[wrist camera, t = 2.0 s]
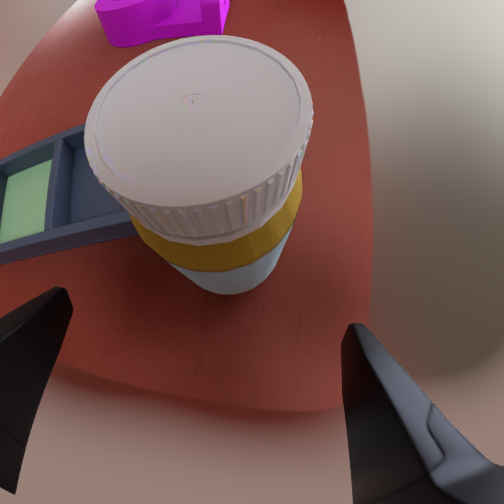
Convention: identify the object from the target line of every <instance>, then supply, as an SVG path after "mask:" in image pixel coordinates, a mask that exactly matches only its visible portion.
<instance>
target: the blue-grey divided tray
mask: <svg viewBox="0 0 504 504" xmlns="http://www.w3.org/2000/svg"><path fill="white" fill-rule="evenodd" d="M85 125H86V123H85V124H82V125H79V126H77V127H74V128H71V129H69V130H66V131H63V132H61V133H58V134H56V135H53V136H51V137H48V138H46V139H43V140H41V141H39V142H36V143H34V144H32V145H30V146H27V147H25V148H23V149H21V150H19V151H17V152H15V153H13V154H11V155H9V156H7V157H5V158H3V159H1V160H0V265H2V264H6V263H10V262H14V261H18V260H22V259H27V258H31V257H35V256H40V255H44V254H48V253H53V252H57V251H62V250H66V249H71V248H76V247H80V246H85V245H90V244H95V243H100V242H105V241H110V240H115V239H120V238H125V237H130V236H135V235H139V233H138V232H137V230H136V228H135V226H134V224H133V223H132V220H131V217H130V214H129V212H128V211H127V210H126V209H125V208H124V207H123V206H122V205H121V204H120V203H119V202H118V201H117V200H116V199H115V198H114V197H113V196H112V195H111V194H110V193H109V192H108V191H107V190H106V189H105V188H104V187H103V186H102V185H101V184H100V183H99V180H98V179H97V178H96V177H95V175H94V174H93V169H92V168H91V167H90V165H89V161H88V158H87V155H86V151H85V144H84V132H85Z"/></svg>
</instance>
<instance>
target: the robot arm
mask: <svg viewBox="0 0 504 504" xmlns="http://www.w3.org/2000/svg"><path fill="white" fill-rule="evenodd" d="M72 314H73V306H72V303H71V300H70V298H69V295H68V292H67V290H66V289H65V288H61V287H54V288H52V289H50V290H48V291H46V292H45V293H43V294H41V295H39V296H37V297H36V298H34V299H32V300H30V301H29V302H27V303H25V304H23V305H22V306H20V307H18V308H16V309H15V310H13V311H11V312H10V313H8V314H6V315H5V316H3V317H1V318H0V487H1V488H3V489H4V490H6V491H8V492H10V493H12V494H14V495H15V493H16V489H17V484H18V479H19V474H20V470H21V465H22V461H23V457H24V453H25V449H26V445H27V442H28V438H29V435H30V431H31V428H32V424H33V422H34V418H35V415H36V412H37V409H38V406H39V404H40V401H41V398H42V395H43V392H44V390H45V387H46V384H47V381H48V379H49V376H50V374H51V371H52V369H53V366H54V364H55V361H56V359H57V357H58V354H59V352H60V349H61V346H62V343H63V340H64V337H65V334H66V331H67V328H68V325H69V322H70V320H71V317H72ZM341 366H342V395H343V404H344V411H345V419H346V428H347V437H348V446H349V457H350V468H351V481H352V495H353V504H504V466H500V465H497V464H495V463H493V462H491V461H490V460H488V459H487V458H486V457H485V456H483V455H482V454H481V453H480V452H479V451H478V450H477V449H476V448H475V447H474V446H473V445H472V444H471V443H470V442H469V441H468V440H467V439H466V438H465V437H464V436H463V435H462V434H461V433H460V432H459V431H458V430H457V429H456V428H455V427H454V426H453V425H452V424H451V423H450V422H449V421H448V419H447V418H446V417H445V416H444V415H443V414H442V413H441V411H440V410H439V409H438V408H437V407H436V406H435V404H434V403H432V401H431V400H430V399H429V398H428V396H427V395H426V394H425V393H424V392H423V391H422V389H421V388H420V387H419V386H418V385H417V384H416V382H415V381H414V380H413V379H412V378H411V377H410V376H409V374H408V373H407V372H406V371H405V370H404V369H403V368H402V366H401V365H400V364H399V363H398V362H397V361H396V360H395V358H394V357H393V356H392V355H391V354H390V353H389V352H388V351H387V350H386V348H385V347H384V346H383V345H382V344H381V343H380V342H379V341H378V339H377V338H376V337H375V336H374V335H373V334H372V333H371V332H370V331H369V330H368V328H367V327H366V326H365V325H364V324H361V323H351V324H349V326H348V328H347V330H346V333H345V335H344V338H343V340H342V343H341Z"/></svg>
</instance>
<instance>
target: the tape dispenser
mask: <svg viewBox="0 0 504 504" xmlns="http://www.w3.org/2000/svg"><path fill="white" fill-rule="evenodd" d="M229 5H230V4H229V0H98V1H97V2H96V4H95V10H96V12H97V14H98V17H99V19H100V22H101V24H102V27H103V29H104V31H105V34H106V36H107V38H108V41H109V43H110V44H111V45H113V46H116V47H131V46H136V45H140V44H143V43H146V42H149V41H152V40H157V39H165V38H174V37H185V36H200V35H222V32H223V28H224V24H225V21H226V17H227V13H228V9H229Z"/></svg>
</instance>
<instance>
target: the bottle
mask: <svg viewBox="0 0 504 504" xmlns="http://www.w3.org/2000/svg"><path fill="white" fill-rule="evenodd" d="M312 106H313V104H312V99H311V94H310V91H309V88H308V85H307V83H306V81H305V79H304V77H303V76H302V74H301V73H300V71H299V70H298V69H297V68H296V67H295V65H294V64H293V63H292V62H290V61H289V60H288V59H287V58H286V57H284V56H283V55H282V54H280V53H279V52H277V51H275V50H274V49H272V48H270V47H268V46H266V45H263V44H261V43H258V42H255V41H252V40H249V39H245V38H240V37H234V36H225V35H204V36H195V37H189V38H184V39H179V40H175V41H172V42H169V43H166V44H163V45H160V46H158V47H156V48H153V49H151V50H149V51H147V52H145V53H143V54H142V55H140V56H138V57H136V58H135V59H133V60H132V61H130V62H129V63H128V64H126V65H125V66H124V67H123V68H121V69H120V70H119V71H118V72H117V73H116V74H115V75H114V76H113V77H112V78H111V79H110V80H109V81H108V82H107V83H106V84H105V86H104V87H103V88H102V90H101V91H100V92H99V94H98V95H97V97H96V99H95V101H94V102H93V104H92V107H91V109H90V111H89V114H88V117H87V120H86V125H85V132H84V144H85V151H86V155H87V158H88V161H89V165H90V167H91V168H92V169H93V174H94V175H95V177H96V178H97V179H98V180H99V183H100V184H101V185H102V186H103V187H104V188H105V189H106V190H107V191H108V192H109V193H110V194H111V195H112V196H113V197H114V198H115V199H116V200H117V201H118V202H119V203H120V204H121V205H122V206H123V207H124V208H125V209H126V210H127V211H128V212H129V214H130V217H131V220H132V223H133V224H134V226H135V228H136V230H137V232H138V233H139V235H140V237H141V238H142V240H143V241H144V242H145V243H146V244H147V245H148V246H149V247H150V248H151V249H152V250H153V251H154V252H156V253H157V254H158V255H159V256H160V257H162V258H163V259H164V260H165V261H167V262H168V263H169V264H170V265H172V266H173V267H174V268H176V269H177V270H178V271H180V272H181V273H182V274H184V275H185V276H186V277H188V278H189V279H190V280H192V281H193V282H194V283H196V284H197V285H198V286H200V287H201V288H203V289H205V290H208V291H211V292H213V293H216V294H221V295H236V294H240V293H243V292H247V291H250V290H252V289H254V288H255V287H256V286H258V285H259V284H261V283H262V282H263V281H264V280H265V279H266V278H267V277H268V276H269V274H270V273H271V272H272V270H273V269H274V267H275V265H276V263H277V261H278V259H279V256H280V254H281V252H282V249H283V247H284V245H285V242H286V240H287V238H288V235H289V233H290V231H291V228H292V226H293V223H294V221H295V218H296V215H297V211H298V208H299V205H300V200H301V197H302V175H301V169H300V166H301V163H302V160H303V156H304V153H305V150H306V147H307V143H308V140H309V137H310V133H311V128H312V125H313V121H312V118H313V110H312Z"/></svg>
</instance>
